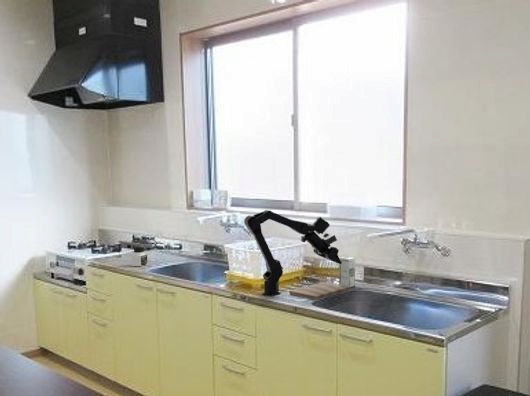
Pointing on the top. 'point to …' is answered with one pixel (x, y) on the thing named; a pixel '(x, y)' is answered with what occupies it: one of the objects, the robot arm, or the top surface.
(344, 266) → the syrup box
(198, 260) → the top surface
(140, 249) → the medicine bottle
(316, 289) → the walnut board
